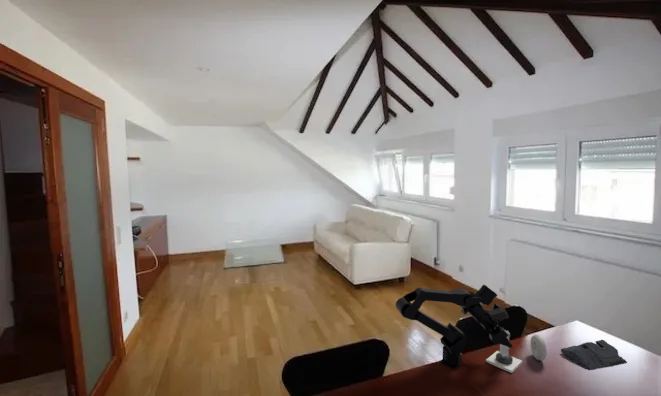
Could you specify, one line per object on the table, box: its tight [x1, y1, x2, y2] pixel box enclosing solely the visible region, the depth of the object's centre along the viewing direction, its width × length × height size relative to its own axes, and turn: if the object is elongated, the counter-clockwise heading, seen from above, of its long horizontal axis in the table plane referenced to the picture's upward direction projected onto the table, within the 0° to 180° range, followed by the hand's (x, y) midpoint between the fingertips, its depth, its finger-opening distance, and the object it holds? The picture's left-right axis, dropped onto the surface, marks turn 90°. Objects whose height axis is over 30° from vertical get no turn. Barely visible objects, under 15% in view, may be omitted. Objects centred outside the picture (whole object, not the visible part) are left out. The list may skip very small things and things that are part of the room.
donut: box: [529, 334, 548, 361], centre depth 136 cm, size 10×3×10 cm, turn 168°
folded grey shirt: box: [560, 339, 628, 371], centre depth 137 cm, size 15×22×5 cm
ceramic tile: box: [485, 350, 523, 374], centre depth 135 cm, size 10×10×1 cm
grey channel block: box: [496, 330, 513, 365], centre depth 134 cm, size 6×6×12 cm
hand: (508, 341), depth 133 cm, fingers open, 8 cm apart
